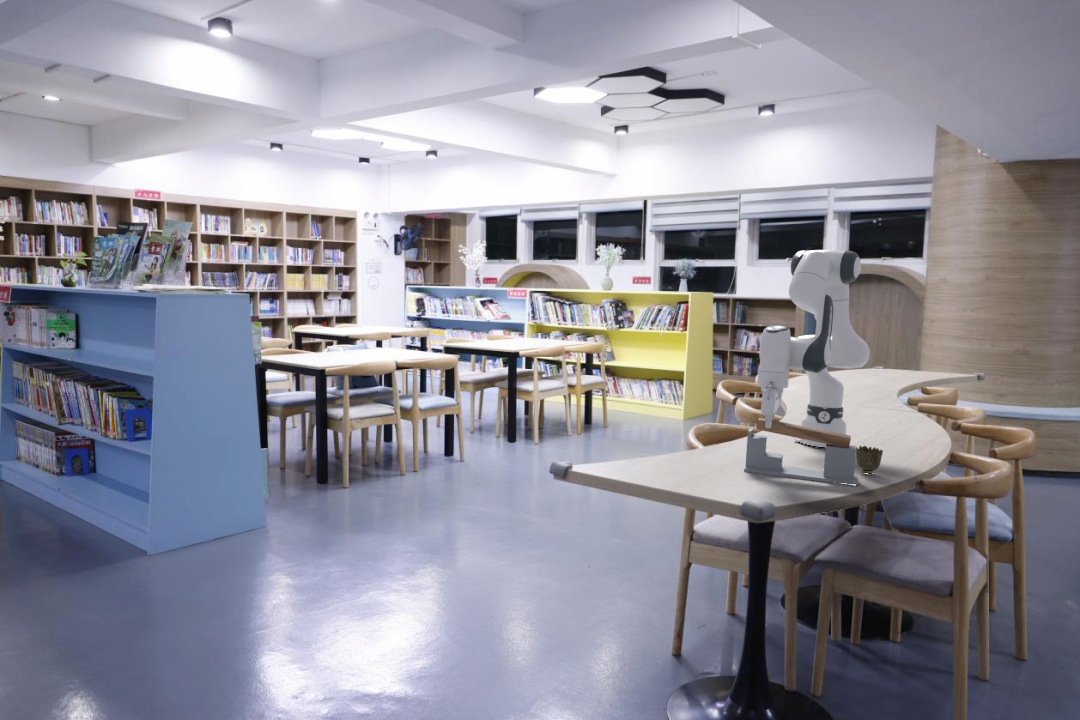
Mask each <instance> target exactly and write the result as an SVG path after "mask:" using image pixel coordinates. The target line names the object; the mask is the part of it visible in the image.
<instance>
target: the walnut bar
mask: <svg viewBox="0 0 1080 720" xmlns="http://www.w3.org/2000/svg"><path fill="white" fill-rule="evenodd" d="M756 430H758V431H762V432H767V433H773V434H778V435H783V436H786V437H792V438H801V439H806V440H810V441H815V442H820V443H825V444H830V445H835V446H839V447H844V448H849V445H851V440H852V439H851V438H852V436H851V435H848V434H846V435H844V434H839V433H834V432H829V431H824V430H819V429H814V428H809V427H804V426H801V425H798V424H793V423H789V422H783V421H778V420H775V419H774V420H772V427H771V428H766V427H765V417H759V418H758V419H757V423H756Z"/></svg>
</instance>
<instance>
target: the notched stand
mask: <svg viewBox="0 0 1080 720" xmlns="http://www.w3.org/2000/svg"><path fill="white" fill-rule="evenodd" d="M754 430H755V428H754V427H749V429H748V430H747V440H746V453H745V466H744V468H743V470H744V471H743V472H744V473H752V474H760V475H768V476H775V477H783V478H789V477H790V479H797V478H798V479H797V480H804V479H805V480H806V481H812V480H814V481H813V482H820V481H823V482H822V483H827V482H835V483H847V484H857V485H858V475H857V474H855V464H856V447H857V446H856V445H852V444H850V445H849V448H844V447H839V446H835V445H830V444H826V448H825V452H824V453H825V454H824V465H823V470H821V469H814V468H813V469H812V468H804V467H797V466H789V465H783V457H784V454H783V453H777V452H768V451H767V440H768V439H767V438H768V435H762V434H754ZM835 483H834V484H835Z"/></svg>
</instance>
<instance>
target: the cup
mask: <svg viewBox="0 0 1080 720" xmlns="http://www.w3.org/2000/svg"><path fill="white" fill-rule="evenodd" d="M858 447H859V448H858ZM858 447H857V446H856V456H855V460H856V464H857V466H858V468H860V473H861V472H862V473H868V474H872V473H874V474H875V470H877V469H878V468H879V467H880V464H881V461H882V457H883V453H884V450H883V449H879V448H878V447H877V448H876V447H873V448H872V446H869V448H868V447H867V446H866V445H863V446H861V445H859V446H858ZM862 473H861V474H862Z"/></svg>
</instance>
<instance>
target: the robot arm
mask: <svg viewBox="0 0 1080 720" xmlns="http://www.w3.org/2000/svg"><path fill="white" fill-rule="evenodd" d="M861 270H862V262H861V258H860V255H859V254H858V253H857V252H855V251H851V250H838V249H829V248H827V249H814V250H813V249H812V250H808V249H805V250H799V251H797V252H796V253H795V254H794V255H793V256H792V259H791V262H790V272H791V276H792V277H791V280H790V283H789V288H788V296H789V298H790V300H791V302H792V303H793V304H794V305H796V307H798V308H800V309H801V310H803V311H805V312H807V313H810V314H812V315H813V317H814V319H815V321H816V323H815V334H806V335H799V336H797V337H795V336H791V329H790V327H788V326H784V325H769V326H766V327H765V328H764V329H763V332H762V335H761V338H760V346H759V361H760V362H759V365H758V369H757V381H756V385H757V386H759V387H760V390H761V392H762V397H761V407H760V414H761V415H762V416H764V419H765V427H766V428H771V427H772V420H774V421H775V415H776V413H777V411H778V409H779V407H780V405H781V402H782V397H783V393H784V389H787V388H789V377H790V369H791V370H800V371H804V372H805V373H806V375H807V380H808V382H809V383H808V384H809V400H808V404H807V407H806V416H805V417H804V418H803V419H802V420H801V422H800V426H804V427H809V428H814V429H819V430H824V431H829V432H834V433H839V434H844V435H847V423H846V421H844V420H843V417H844V407H843V401H844V385H843V383H842V382H841V381H840V380H839V379H837V378H836V377H833V375H831V374H830V373H829V371H828V368H837V369H859V368H863V367H864V366H866V364H867V363H868V362H869V359H870V355H871V351H870V347H869V345H868V342H866V341H865V340H864V339H862V337H860V336H859V335H858V334H857V333H856V331H855V330H854V327H853V326H852V324H851V321H850V320H851V319H850V283H853V282H855V281H856V280H857V279H858V277H859V275H860V273H861ZM793 442H795V443H798V442H800V443H799V444H802V443H803V445H805V444H807V445H806V446H808V445H811V446H810V447H812V446H817V447H816V448H818V447H826V444H825V443H820V442H815V441H810V440H806V439H801V438H796V437H794V441H793Z"/></svg>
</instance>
